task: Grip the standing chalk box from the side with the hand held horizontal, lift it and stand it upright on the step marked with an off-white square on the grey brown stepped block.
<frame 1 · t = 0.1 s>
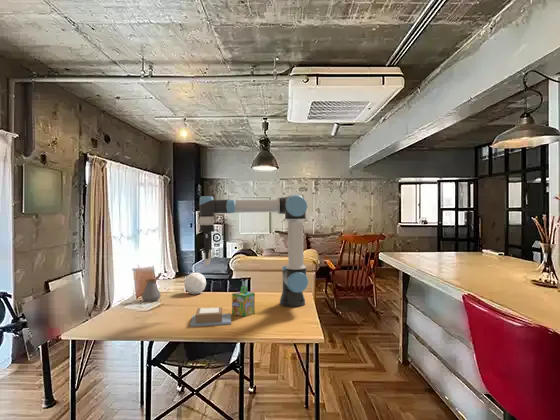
hand: (207, 263, 216), 28 cm above the table, tool pointing down, fingers open, 13 cm apart
chalk box: (243, 314, 216), on the table
geometric shape: (195, 293, 268), on the table
coffee pot: (154, 298, 254), on the table
grey brown stepped block: (211, 320, 203), on the table
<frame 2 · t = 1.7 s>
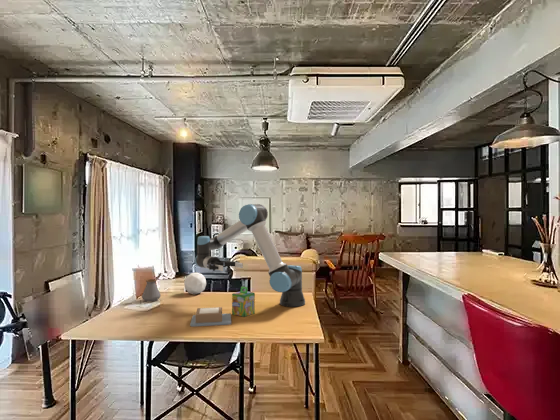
hand: (232, 267, 222), 25 cm above the table, tool horizontal, fingers open, 13 cm apart
nothing on the table moved.
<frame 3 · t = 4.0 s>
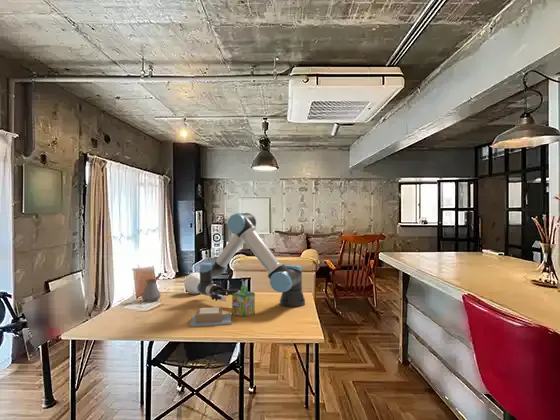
hand: (235, 296, 221), 8 cm above the table, tool horizontal, fingers open, 13 cm apart
nothing on the table moved.
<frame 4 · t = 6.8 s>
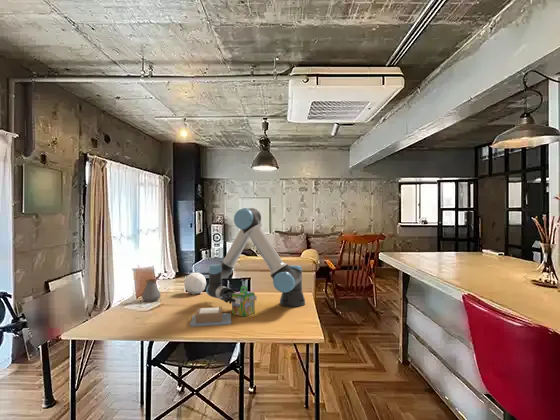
hand: (248, 300, 212), 8 cm above the table, tool horizontal, fingers closed on chalk box, 10 cm apart
chalk box: (243, 314, 215), on the table, touching gripper
everything else where it was.
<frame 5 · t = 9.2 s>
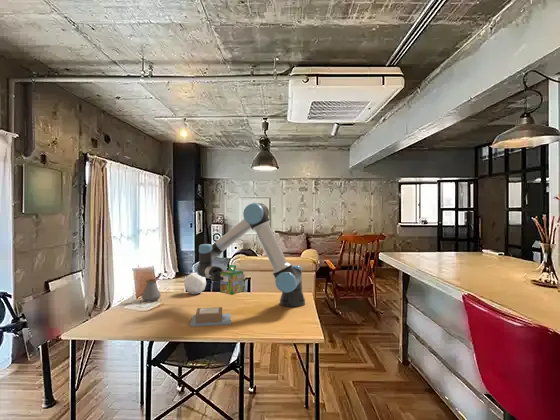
hand: (236, 278, 210), 21 cm above the table, tool horizontal, fingers closed on chalk box, 10 cm apart
chalk box: (232, 292, 213), point 12 cm above the table, touching gripper
everything else where it was.
when the fingers open (15 cm above the table, at t = 12.1 s): chalk box drops 1 cm, resting on grey brown stepped block.
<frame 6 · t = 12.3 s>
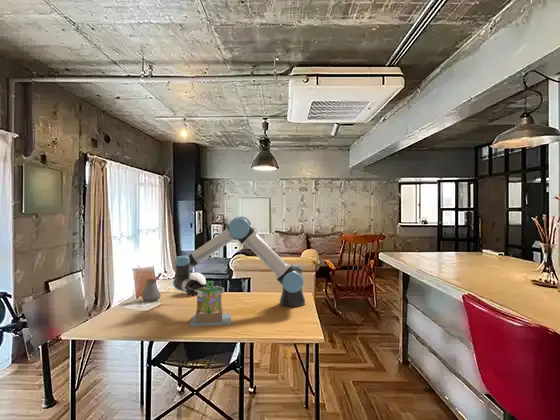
hand: (212, 292, 200), 15 cm above the table, tool horizontal, fingers open, 12 cm apart
chalk box: (209, 310, 203), point 5 cm above the table, touching grey brown stepped block
everything else where it was.
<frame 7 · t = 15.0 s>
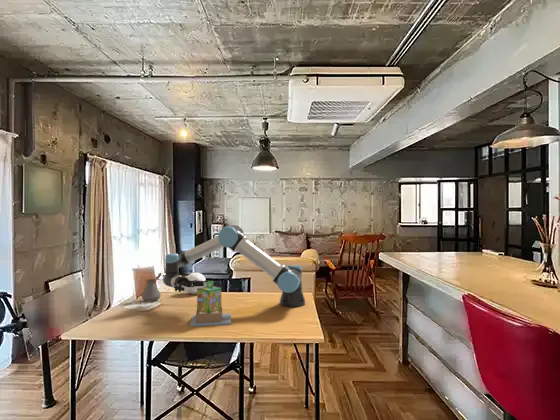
hand: (199, 288, 210), 16 cm above the table, tool horizontal, fingers open, 13 cm apart
nothing on the table moved.
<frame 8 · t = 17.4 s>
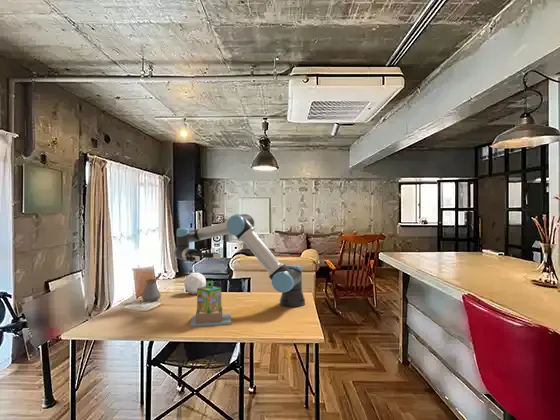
hand: (209, 257, 222), 30 cm above the table, tool horizontal, fingers open, 13 cm apart
nothing on the table moved.
at the end: chalk box inside the target area on the grey brown stepped block (0.2 cm from its centre), point 5.3 cm above the grey brown stepped block's base; chalk box tilted 0°; the gripper is holding nothing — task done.
